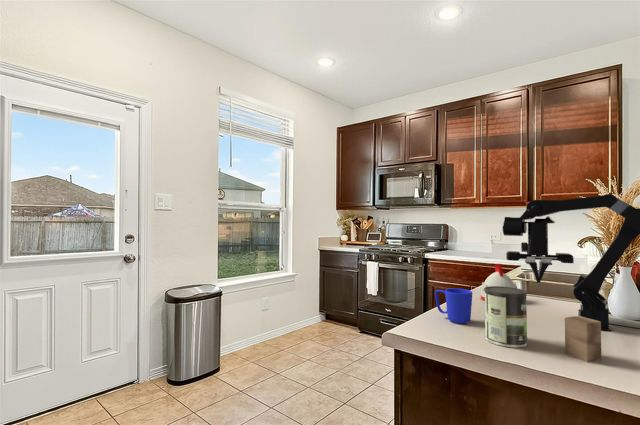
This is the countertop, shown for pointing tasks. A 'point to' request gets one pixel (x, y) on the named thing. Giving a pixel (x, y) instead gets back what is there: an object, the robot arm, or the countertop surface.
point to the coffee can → (506, 316)
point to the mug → (457, 304)
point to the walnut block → (583, 338)
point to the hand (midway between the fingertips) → (538, 282)
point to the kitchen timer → (496, 280)
